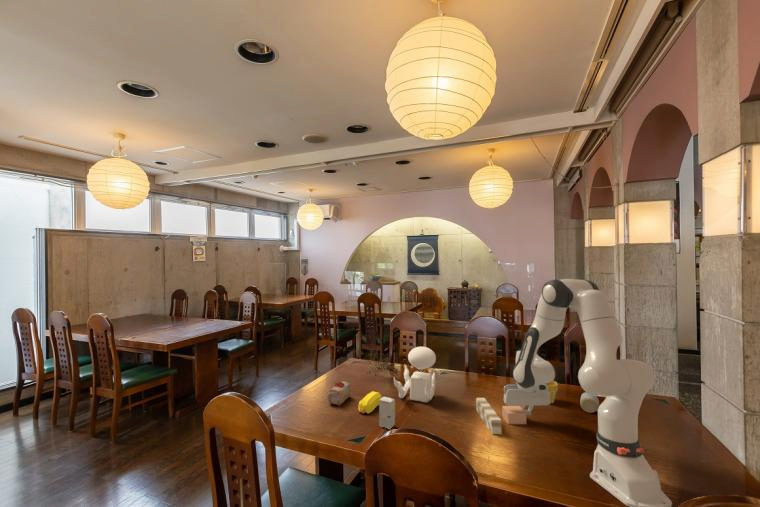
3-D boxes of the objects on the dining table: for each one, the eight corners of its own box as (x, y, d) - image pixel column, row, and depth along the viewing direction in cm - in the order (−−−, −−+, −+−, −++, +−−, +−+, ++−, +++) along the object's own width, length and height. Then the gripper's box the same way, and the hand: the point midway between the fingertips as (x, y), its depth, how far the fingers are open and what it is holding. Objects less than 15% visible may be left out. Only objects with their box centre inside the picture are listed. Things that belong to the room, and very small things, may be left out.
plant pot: (560, 406, 174) (560, 386, 175) (538, 404, 177) (538, 385, 177) (554, 397, 185) (554, 379, 185) (534, 396, 187) (533, 378, 187)
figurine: (430, 411, 173) (431, 354, 173) (392, 404, 180) (393, 350, 180) (438, 393, 196) (439, 343, 196) (404, 388, 202) (405, 339, 202)
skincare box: (378, 427, 156) (378, 399, 156) (383, 422, 160) (383, 396, 160) (391, 430, 153) (390, 402, 153) (395, 425, 157) (395, 398, 157)
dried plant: (415, 348, 224) (357, 316, 240) (396, 366, 195) (332, 328, 212) (399, 387, 231) (343, 353, 247) (379, 410, 202) (318, 370, 219)
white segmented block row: (501, 434, 148) (501, 420, 148) (492, 434, 148) (491, 420, 148) (484, 409, 172) (484, 397, 172) (476, 410, 172) (476, 397, 172)
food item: (340, 407, 178) (340, 387, 178) (326, 405, 180) (326, 386, 181) (351, 397, 191) (351, 379, 191) (338, 395, 193) (338, 377, 194)
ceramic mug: (580, 411, 168) (579, 395, 168) (580, 405, 175) (580, 390, 175) (606, 417, 162) (606, 400, 162) (606, 410, 169) (606, 394, 169)
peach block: (526, 424, 156) (526, 413, 156) (508, 424, 157) (508, 413, 157) (519, 416, 164) (519, 405, 164) (502, 416, 165) (502, 405, 165)
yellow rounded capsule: (355, 414, 170) (369, 416, 167) (355, 400, 170) (369, 402, 167) (371, 400, 186) (384, 402, 183) (371, 387, 186) (384, 389, 183)
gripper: (505, 386, 157) (506, 417, 157) (551, 386, 157) (552, 417, 157) (501, 381, 163) (501, 411, 163) (545, 381, 163) (545, 411, 163)
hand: (526, 414), depth 160 cm, fingers closed
